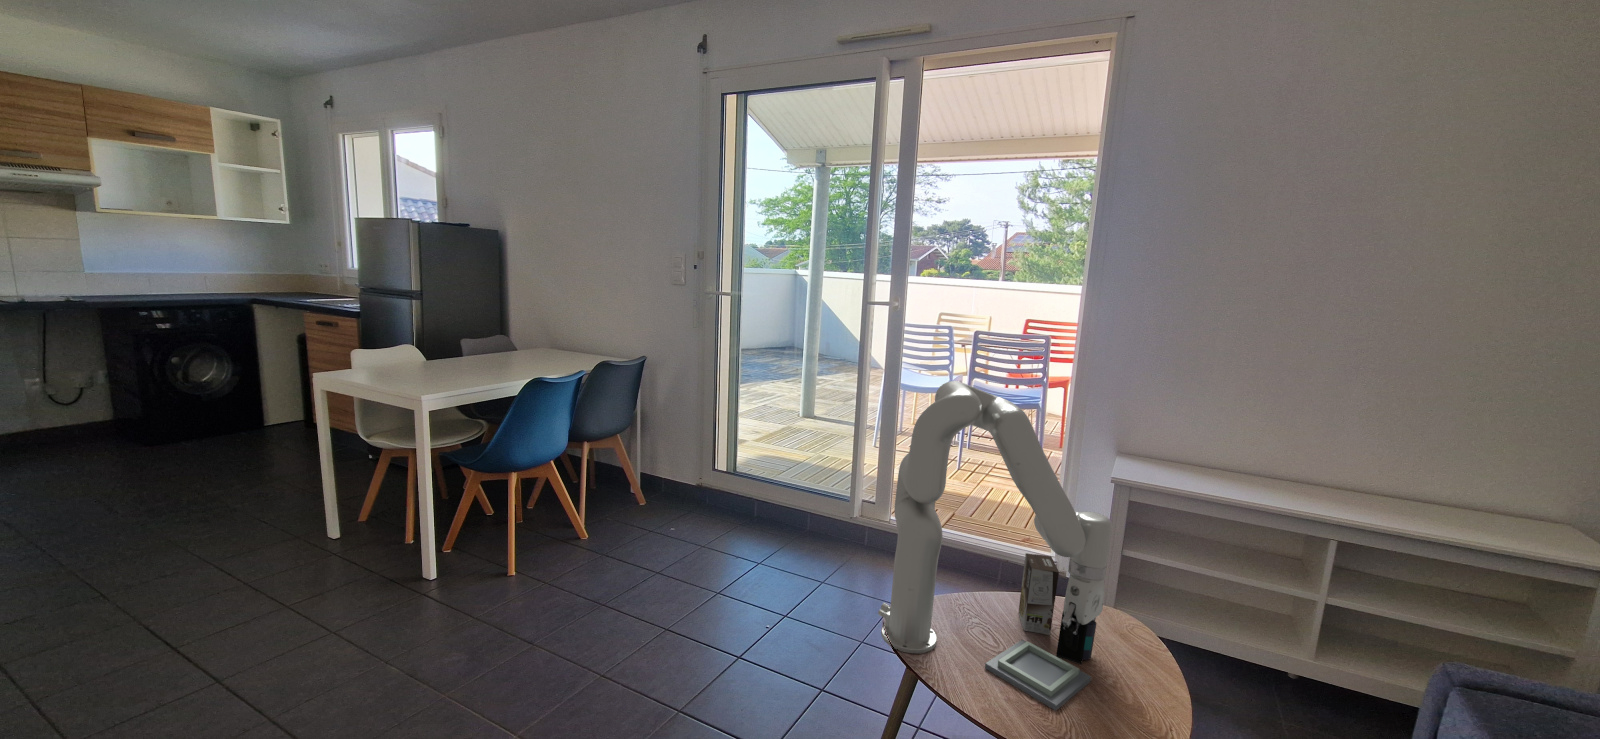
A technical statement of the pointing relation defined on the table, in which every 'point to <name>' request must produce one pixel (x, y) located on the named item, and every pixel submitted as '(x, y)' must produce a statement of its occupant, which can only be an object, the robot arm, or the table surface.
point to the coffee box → (1038, 593)
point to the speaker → (1084, 643)
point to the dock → (1039, 673)
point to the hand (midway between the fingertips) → (1077, 641)
